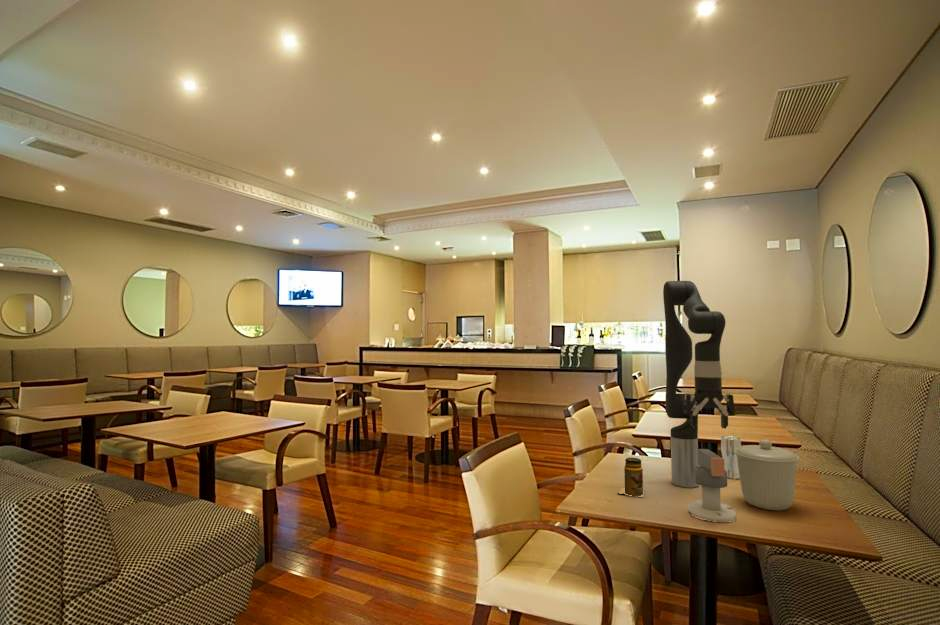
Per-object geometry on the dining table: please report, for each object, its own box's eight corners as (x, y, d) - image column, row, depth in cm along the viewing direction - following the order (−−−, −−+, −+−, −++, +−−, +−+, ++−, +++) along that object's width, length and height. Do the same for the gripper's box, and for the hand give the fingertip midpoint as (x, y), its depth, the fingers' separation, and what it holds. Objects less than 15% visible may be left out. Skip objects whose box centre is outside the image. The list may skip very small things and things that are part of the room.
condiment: (642, 498, 162) (641, 462, 162) (616, 494, 166) (616, 459, 166) (645, 492, 168) (645, 457, 169) (621, 488, 172) (620, 454, 173)
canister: (765, 517, 144) (763, 447, 145) (722, 497, 162) (721, 434, 163) (816, 513, 148) (813, 444, 149) (768, 494, 165) (766, 432, 166)
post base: (682, 506, 154) (681, 477, 155) (724, 507, 153) (724, 479, 153) (697, 522, 141) (696, 491, 142) (743, 523, 140) (742, 492, 140)
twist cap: (688, 477, 154) (688, 448, 154) (718, 477, 153) (717, 449, 153) (703, 489, 142) (702, 458, 142) (735, 490, 141) (734, 459, 141)
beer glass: (717, 475, 187) (716, 436, 188) (729, 473, 190) (728, 435, 191) (734, 480, 181) (732, 440, 181) (746, 477, 184) (745, 438, 184)
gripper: (726, 374, 152) (728, 425, 151) (680, 374, 154) (681, 425, 153) (737, 376, 145) (738, 430, 144) (688, 376, 146) (689, 429, 145)
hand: (709, 427), depth 148 cm, fingers open, 8 cm apart
